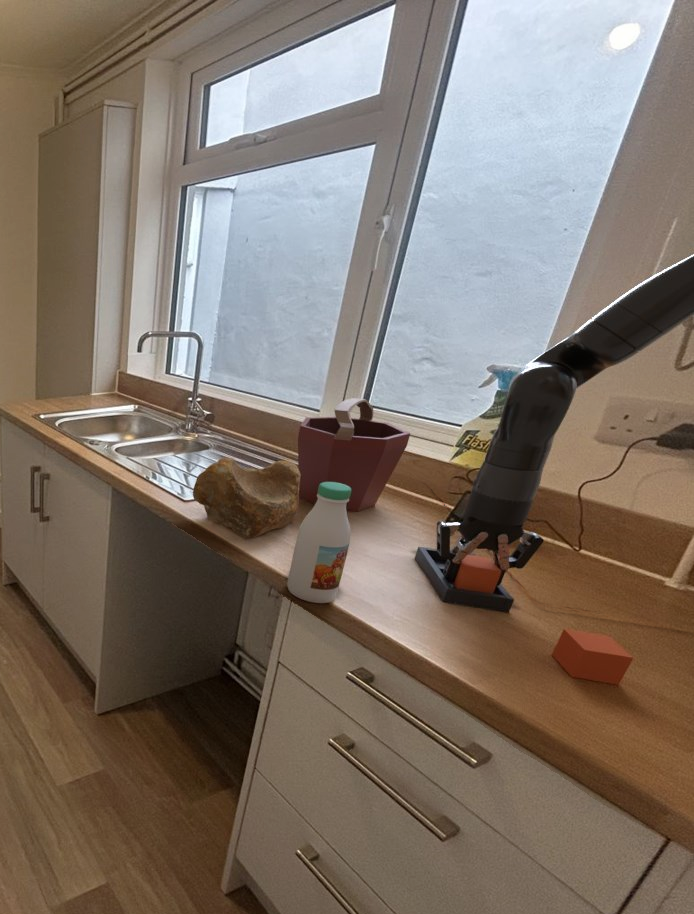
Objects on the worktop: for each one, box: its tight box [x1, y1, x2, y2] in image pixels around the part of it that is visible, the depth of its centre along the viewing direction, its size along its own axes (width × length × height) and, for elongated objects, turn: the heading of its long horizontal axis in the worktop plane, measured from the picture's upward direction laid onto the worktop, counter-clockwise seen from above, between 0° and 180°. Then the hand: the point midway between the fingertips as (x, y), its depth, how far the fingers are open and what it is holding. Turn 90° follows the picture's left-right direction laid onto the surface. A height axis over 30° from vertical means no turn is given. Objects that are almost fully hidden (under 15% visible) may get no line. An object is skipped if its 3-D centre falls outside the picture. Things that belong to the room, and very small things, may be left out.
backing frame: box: [414, 546, 515, 613], centre depth 94 cm, size 9×17×2 cm, turn 159°
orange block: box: [551, 628, 634, 686], centre depth 72 cm, size 5×5×4 cm
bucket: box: [297, 397, 411, 513], centre depth 129 cm, size 24×22×25 cm
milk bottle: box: [286, 482, 352, 604], centre depth 88 cm, size 8×8×20 cm
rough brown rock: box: [192, 457, 301, 540], centre depth 114 cm, size 23×17×15 cm
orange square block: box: [452, 555, 502, 594], centre depth 90 cm, size 5×5×4 cm
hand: (469, 582), depth 90 cm, fingers closed on orange square block, 5 cm apart
